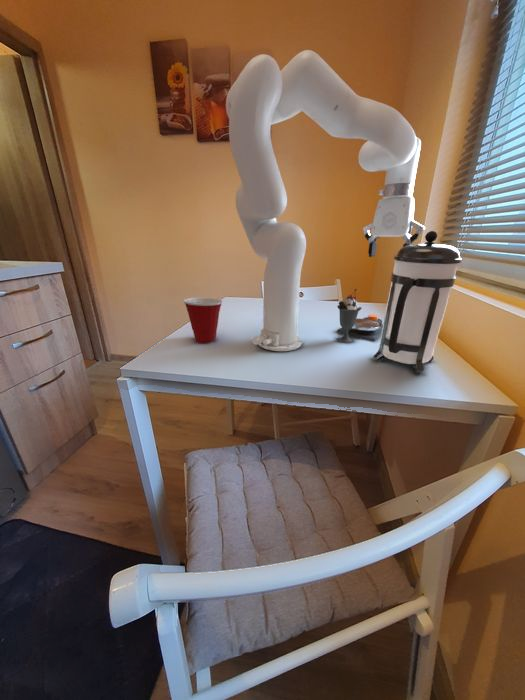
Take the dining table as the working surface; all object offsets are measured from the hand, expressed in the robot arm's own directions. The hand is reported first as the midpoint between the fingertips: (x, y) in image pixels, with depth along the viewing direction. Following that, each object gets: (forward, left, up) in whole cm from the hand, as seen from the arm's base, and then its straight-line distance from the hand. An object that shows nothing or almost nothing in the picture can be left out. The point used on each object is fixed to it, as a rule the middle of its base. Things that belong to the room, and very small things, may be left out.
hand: (387, 257), depth 84 cm
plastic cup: (-44, +34, -23) cm, 60 cm away
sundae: (-17, +3, -23) cm, 29 cm away
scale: (-4, +2, -23) cm, 23 cm away
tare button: (+1, +2, -21) cm, 21 cm away
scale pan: (-7, +2, -20) cm, 22 cm away
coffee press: (-22, -15, -23) cm, 35 cm away
